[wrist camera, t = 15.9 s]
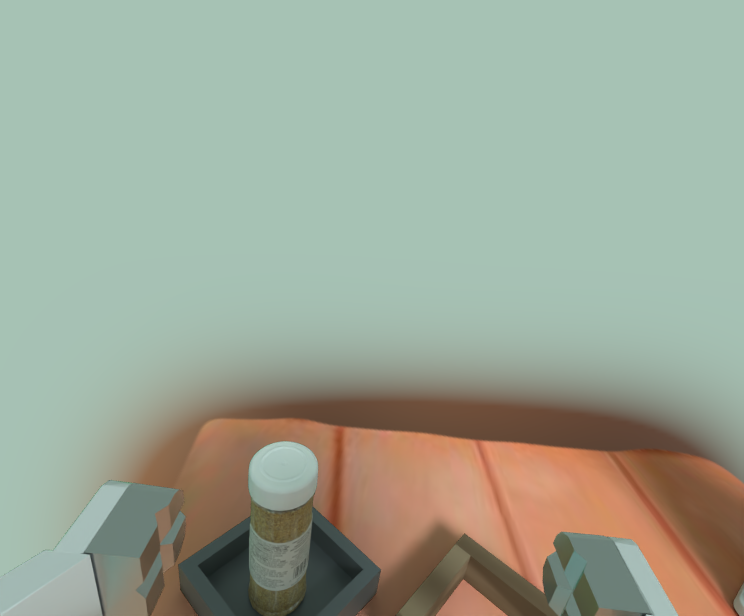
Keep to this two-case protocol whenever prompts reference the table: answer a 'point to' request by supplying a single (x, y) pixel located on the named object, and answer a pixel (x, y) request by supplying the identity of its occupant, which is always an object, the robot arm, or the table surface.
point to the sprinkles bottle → (280, 525)
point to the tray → (323, 575)
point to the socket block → (477, 584)
